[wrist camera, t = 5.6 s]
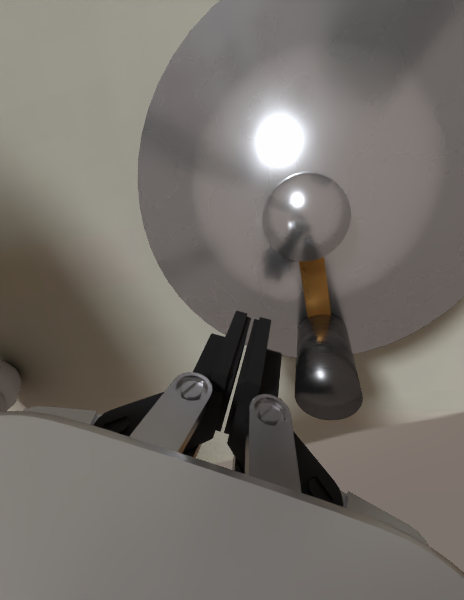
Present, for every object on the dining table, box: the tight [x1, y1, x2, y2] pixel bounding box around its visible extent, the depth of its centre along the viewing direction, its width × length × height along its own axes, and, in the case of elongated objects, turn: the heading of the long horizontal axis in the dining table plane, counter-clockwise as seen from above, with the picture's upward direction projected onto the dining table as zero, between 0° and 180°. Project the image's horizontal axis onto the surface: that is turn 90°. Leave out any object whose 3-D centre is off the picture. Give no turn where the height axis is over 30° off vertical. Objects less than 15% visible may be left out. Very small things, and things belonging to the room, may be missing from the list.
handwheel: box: [138, 0, 464, 420], centre depth 10 cm, size 14×14×6 cm
